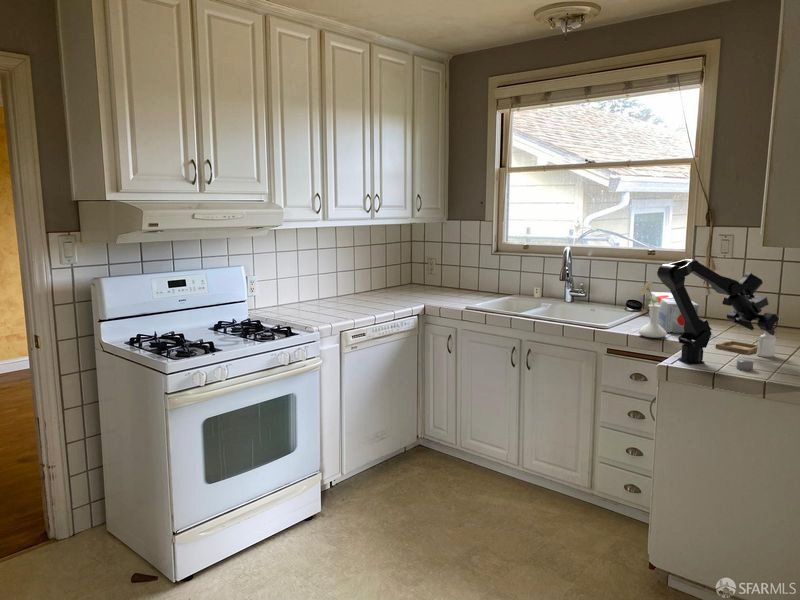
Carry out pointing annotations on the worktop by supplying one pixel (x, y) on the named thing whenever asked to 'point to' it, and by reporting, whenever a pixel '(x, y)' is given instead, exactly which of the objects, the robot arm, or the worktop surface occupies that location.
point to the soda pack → (669, 312)
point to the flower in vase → (652, 316)
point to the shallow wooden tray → (737, 347)
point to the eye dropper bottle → (766, 345)
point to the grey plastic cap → (744, 364)
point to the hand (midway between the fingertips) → (763, 331)
